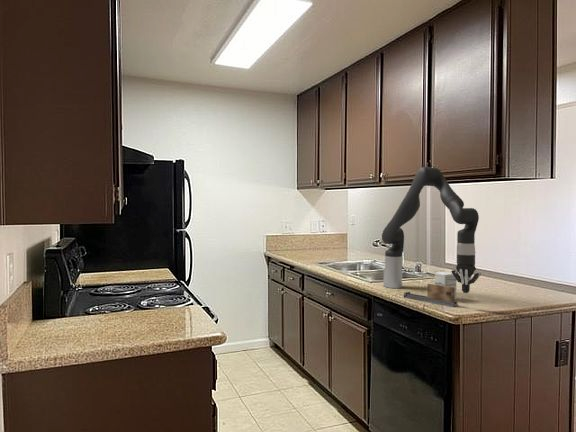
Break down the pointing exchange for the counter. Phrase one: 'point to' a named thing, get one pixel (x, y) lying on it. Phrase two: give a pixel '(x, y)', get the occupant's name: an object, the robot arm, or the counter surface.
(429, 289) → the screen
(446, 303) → the rail
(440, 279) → the supplement box
